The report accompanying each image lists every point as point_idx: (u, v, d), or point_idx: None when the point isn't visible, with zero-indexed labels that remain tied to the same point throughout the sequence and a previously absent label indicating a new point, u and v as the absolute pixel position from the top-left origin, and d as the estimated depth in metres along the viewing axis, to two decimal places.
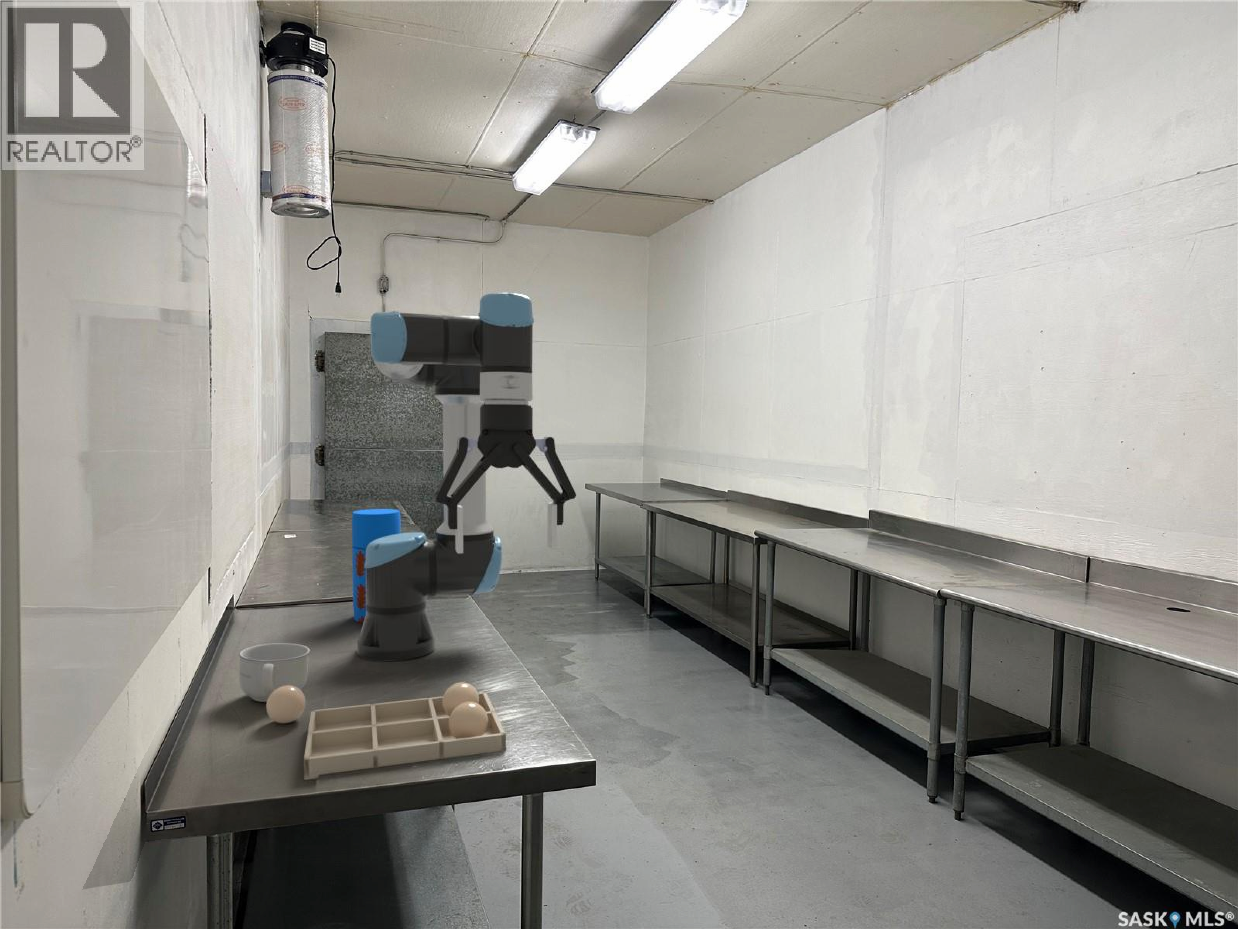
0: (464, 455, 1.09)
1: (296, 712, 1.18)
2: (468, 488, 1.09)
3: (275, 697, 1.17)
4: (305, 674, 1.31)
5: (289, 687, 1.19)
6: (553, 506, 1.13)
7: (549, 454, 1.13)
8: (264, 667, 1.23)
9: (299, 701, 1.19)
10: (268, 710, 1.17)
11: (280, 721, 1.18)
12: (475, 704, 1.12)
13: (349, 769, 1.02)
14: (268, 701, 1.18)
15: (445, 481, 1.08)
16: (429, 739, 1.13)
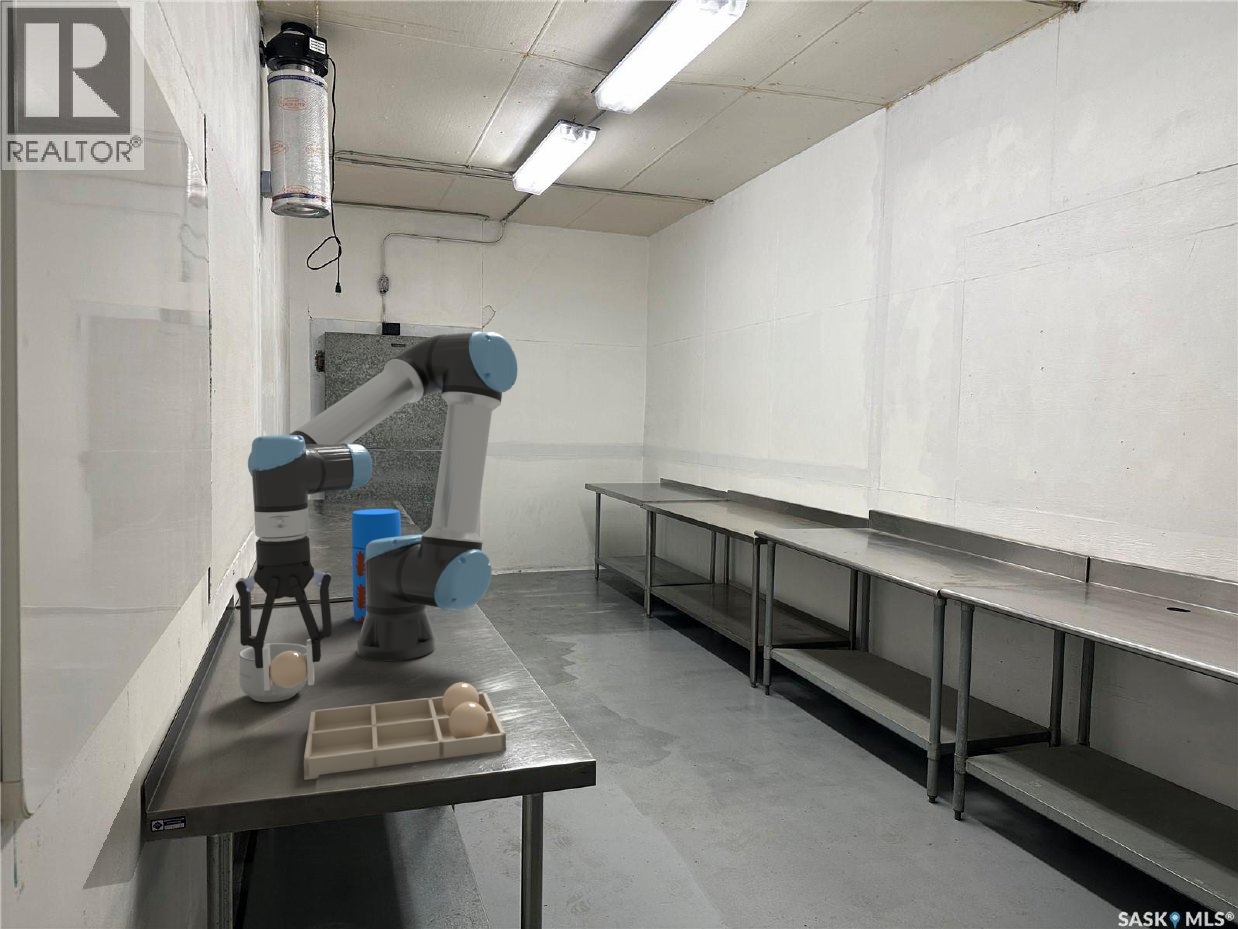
0: (246, 596, 1.16)
1: (299, 677, 1.18)
2: (265, 626, 1.17)
3: (278, 661, 1.18)
4: None
5: (292, 652, 1.19)
6: (308, 646, 1.19)
7: (321, 590, 1.19)
8: None
9: (302, 666, 1.19)
10: (271, 675, 1.18)
11: (283, 686, 1.18)
12: (475, 704, 1.12)
13: (349, 769, 1.02)
14: (271, 666, 1.18)
15: (241, 626, 1.16)
16: (429, 739, 1.13)
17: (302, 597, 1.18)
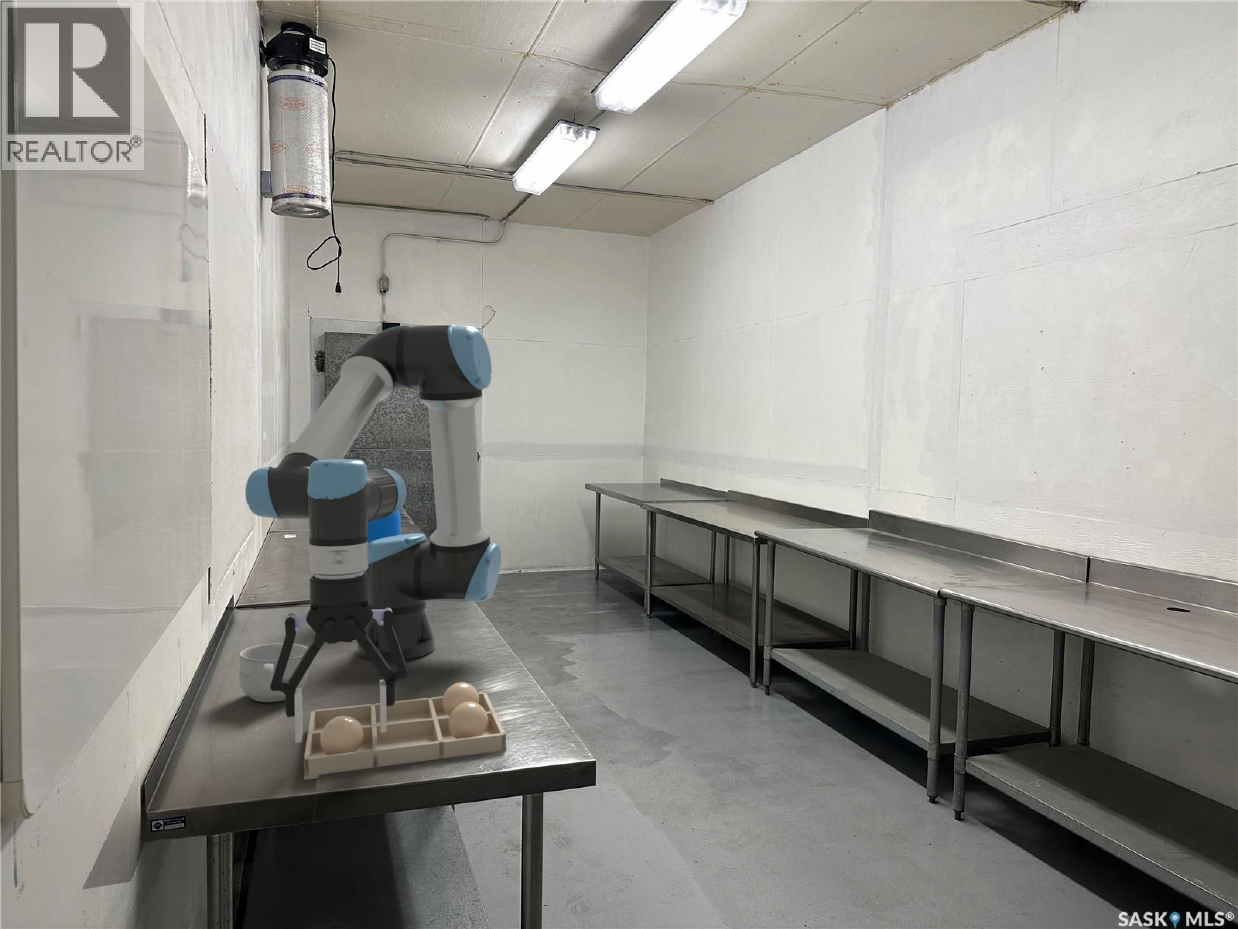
0: (293, 636, 1.02)
1: (354, 747, 1.05)
2: (303, 671, 1.03)
3: (331, 729, 1.04)
4: (305, 674, 1.31)
5: (346, 718, 1.06)
6: (382, 688, 1.06)
7: (384, 629, 1.06)
8: (264, 667, 1.23)
9: (357, 734, 1.05)
10: (323, 744, 1.04)
11: None
12: (475, 704, 1.12)
13: (349, 769, 1.02)
14: (323, 734, 1.05)
15: (277, 668, 1.02)
16: (429, 739, 1.13)
17: (365, 638, 1.05)
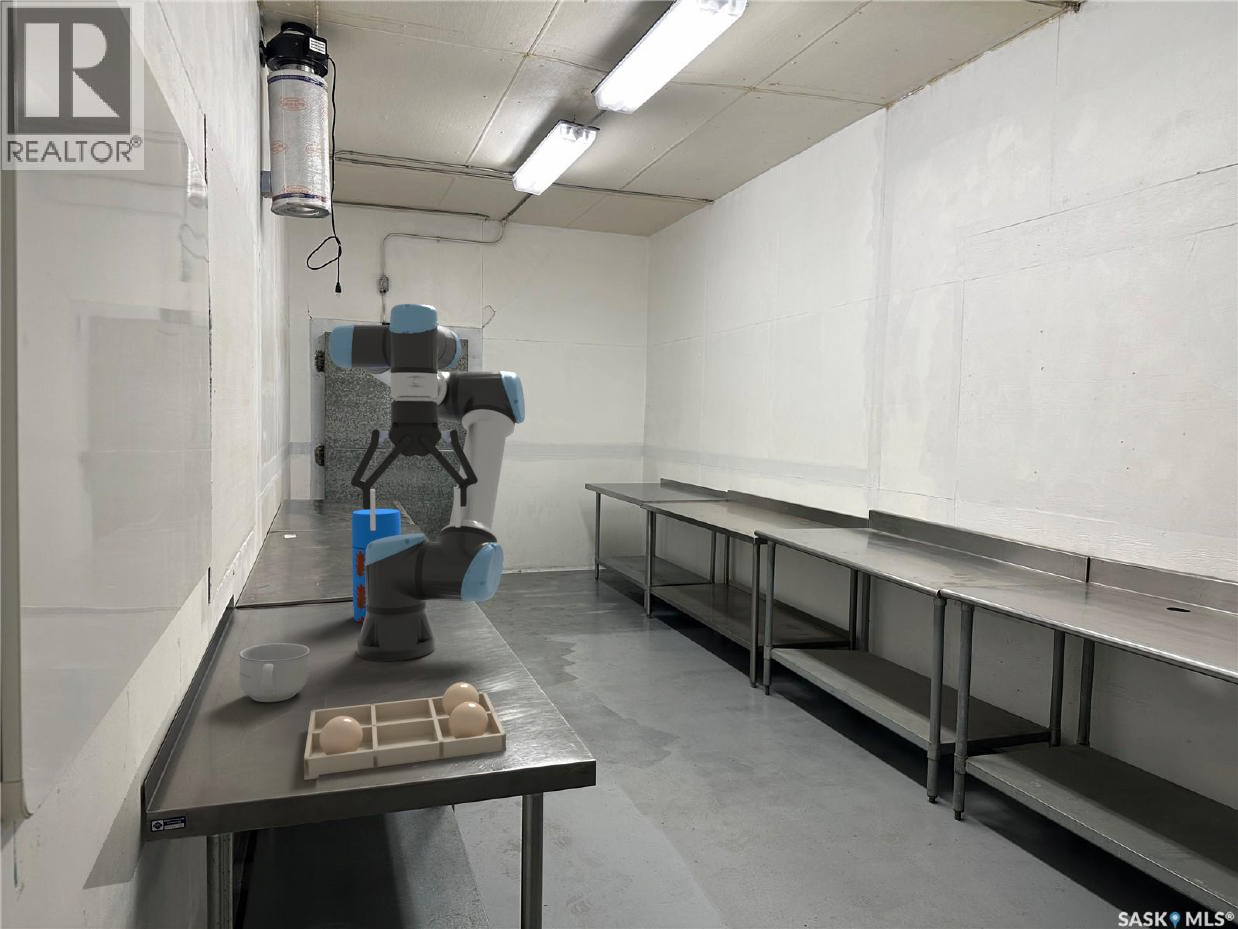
0: (376, 445, 1.25)
1: (353, 747, 1.05)
2: (380, 473, 1.26)
3: (330, 730, 1.04)
4: (305, 674, 1.31)
5: (344, 718, 1.06)
6: (457, 490, 1.30)
7: (453, 444, 1.29)
8: (264, 667, 1.23)
9: (356, 734, 1.05)
10: (322, 745, 1.04)
11: None
12: (475, 704, 1.12)
13: (349, 769, 1.02)
14: (322, 735, 1.04)
15: (359, 467, 1.25)
16: (429, 739, 1.13)
17: (438, 451, 1.28)
